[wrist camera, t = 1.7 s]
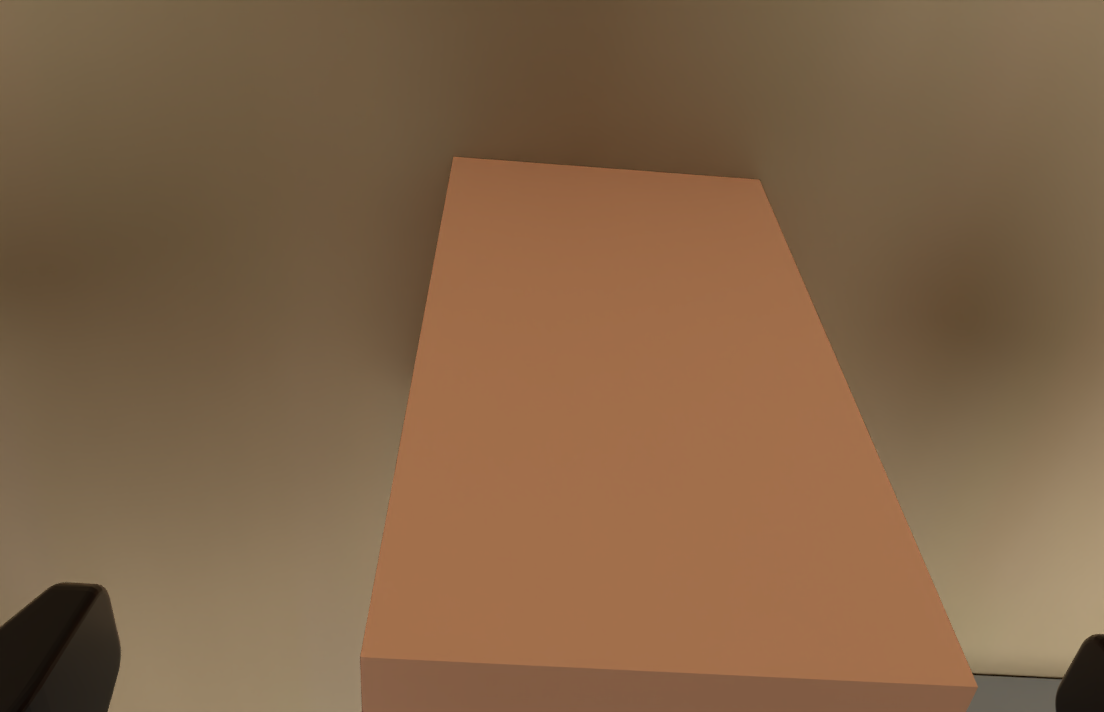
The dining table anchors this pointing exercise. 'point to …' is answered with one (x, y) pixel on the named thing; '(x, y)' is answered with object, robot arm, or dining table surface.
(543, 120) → the dining table surface
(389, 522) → the peg
